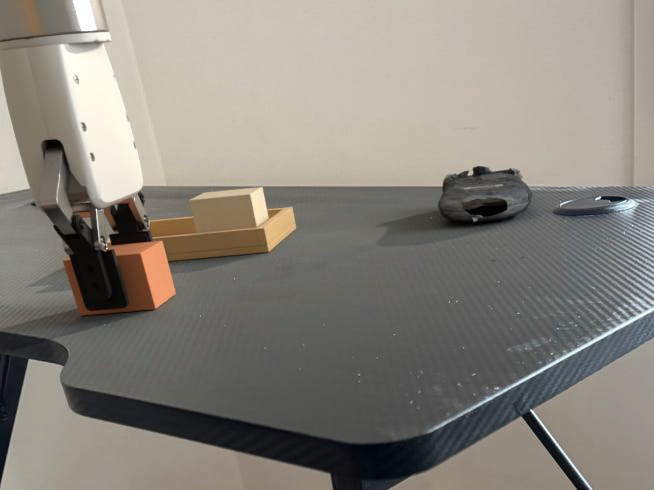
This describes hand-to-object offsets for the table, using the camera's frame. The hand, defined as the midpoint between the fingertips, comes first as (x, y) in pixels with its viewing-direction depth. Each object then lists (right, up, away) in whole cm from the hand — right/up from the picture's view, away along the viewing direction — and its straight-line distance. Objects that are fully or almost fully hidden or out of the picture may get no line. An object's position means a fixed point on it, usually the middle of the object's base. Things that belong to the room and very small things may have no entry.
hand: (126, 294), depth 72 cm
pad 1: (0, -1, 0) cm, 1 cm away
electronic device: (+28, +17, +23) cm, 40 cm away
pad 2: (+3, +13, +20) cm, 24 cm away
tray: (0, +12, +21) cm, 24 cm away
